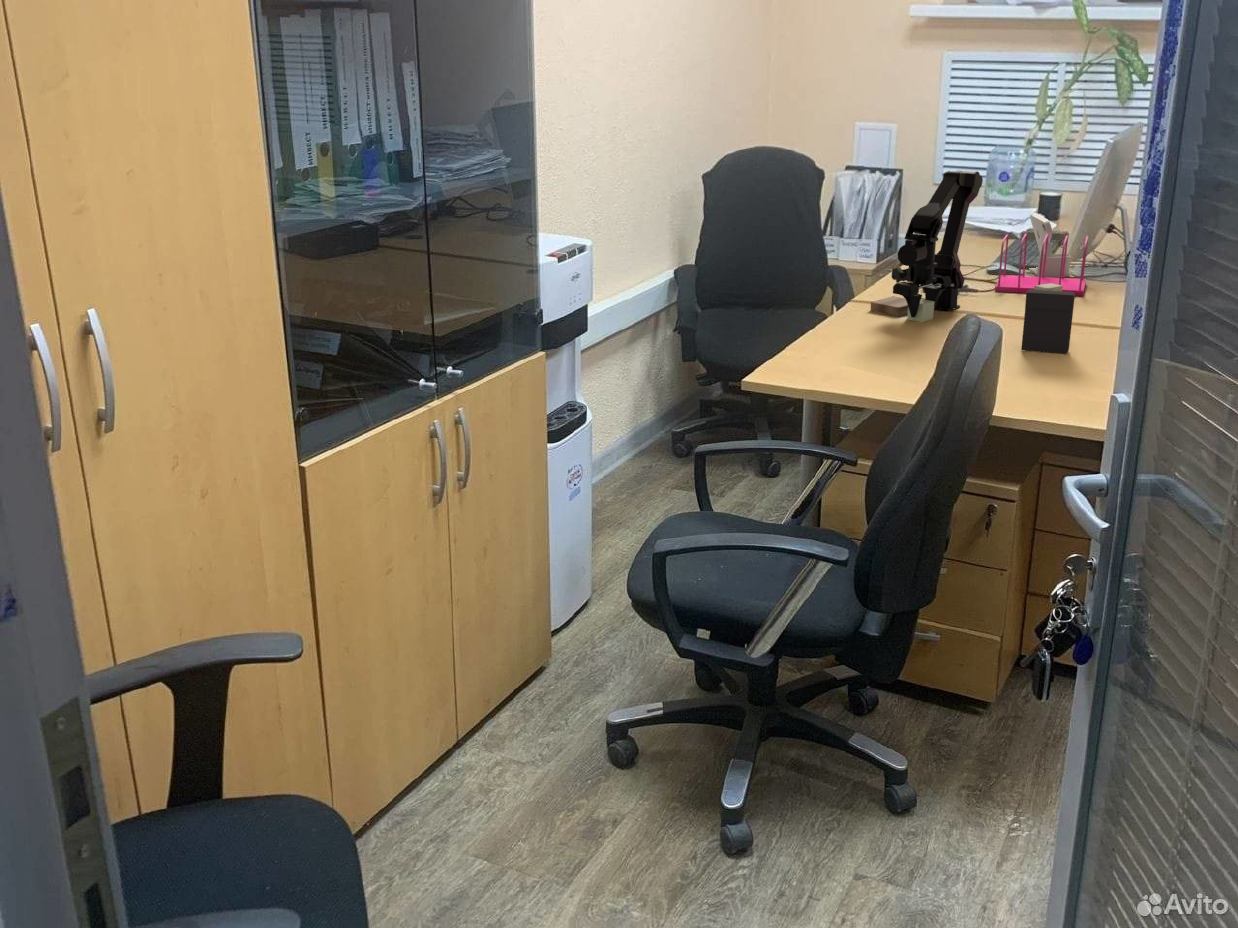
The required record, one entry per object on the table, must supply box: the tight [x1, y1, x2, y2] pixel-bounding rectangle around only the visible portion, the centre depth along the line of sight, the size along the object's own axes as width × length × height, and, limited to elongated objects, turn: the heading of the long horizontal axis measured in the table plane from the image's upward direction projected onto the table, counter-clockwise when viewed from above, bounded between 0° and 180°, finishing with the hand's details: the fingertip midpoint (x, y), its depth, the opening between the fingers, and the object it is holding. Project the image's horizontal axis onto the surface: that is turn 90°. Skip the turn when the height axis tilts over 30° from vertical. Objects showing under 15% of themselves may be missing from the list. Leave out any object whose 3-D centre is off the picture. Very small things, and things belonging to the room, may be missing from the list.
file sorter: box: [994, 233, 1089, 297], centre depth 348 cm, size 17×25×16 cm
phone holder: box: [1028, 212, 1072, 278], centre depth 368 cm, size 17×10×18 cm, turn 178°
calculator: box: [1021, 290, 1076, 355], centre depth 284 cm, size 11×4×15 cm, turn 65°
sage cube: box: [906, 298, 935, 323], centre depth 320 cm, size 5×5×5 cm
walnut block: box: [870, 296, 908, 317], centre depth 330 cm, size 10×10×3 cm
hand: (920, 315), depth 320 cm, fingers open, 6 cm apart
